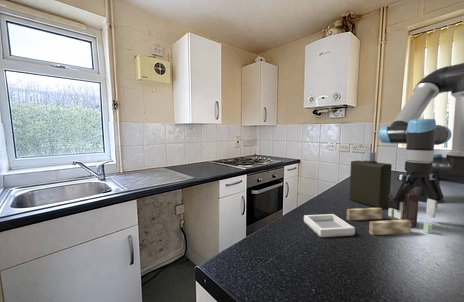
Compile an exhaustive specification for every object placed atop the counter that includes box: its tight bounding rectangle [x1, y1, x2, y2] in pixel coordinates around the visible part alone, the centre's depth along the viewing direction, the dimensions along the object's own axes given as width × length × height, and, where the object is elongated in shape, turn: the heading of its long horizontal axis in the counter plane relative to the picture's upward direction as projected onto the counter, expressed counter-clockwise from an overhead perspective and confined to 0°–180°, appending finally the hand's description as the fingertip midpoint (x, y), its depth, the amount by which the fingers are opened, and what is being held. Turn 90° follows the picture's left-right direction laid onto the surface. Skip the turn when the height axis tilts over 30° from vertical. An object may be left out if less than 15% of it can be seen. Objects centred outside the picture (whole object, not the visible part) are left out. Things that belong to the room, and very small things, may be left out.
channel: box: [346, 207, 412, 236], centre depth 75 cm, size 14×13×4 cm
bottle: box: [348, 151, 392, 210], centre depth 98 cm, size 8×16×25 cm, turn 28°
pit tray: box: [303, 213, 356, 238], centre depth 73 cm, size 12×12×2 cm
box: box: [392, 192, 419, 228], centre depth 76 cm, size 6×4×12 cm
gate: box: [387, 207, 433, 234], centre depth 76 cm, size 2×16×3 cm, turn 6°
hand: (414, 217), depth 77 cm, fingers open, 13 cm apart
